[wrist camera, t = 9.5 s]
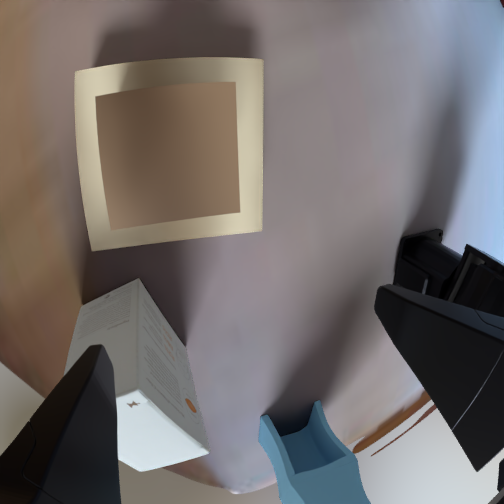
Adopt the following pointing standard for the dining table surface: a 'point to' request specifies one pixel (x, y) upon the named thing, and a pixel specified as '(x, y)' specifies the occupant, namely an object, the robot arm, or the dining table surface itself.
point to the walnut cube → (169, 153)
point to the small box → (144, 378)
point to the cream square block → (163, 74)
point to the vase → (312, 463)
